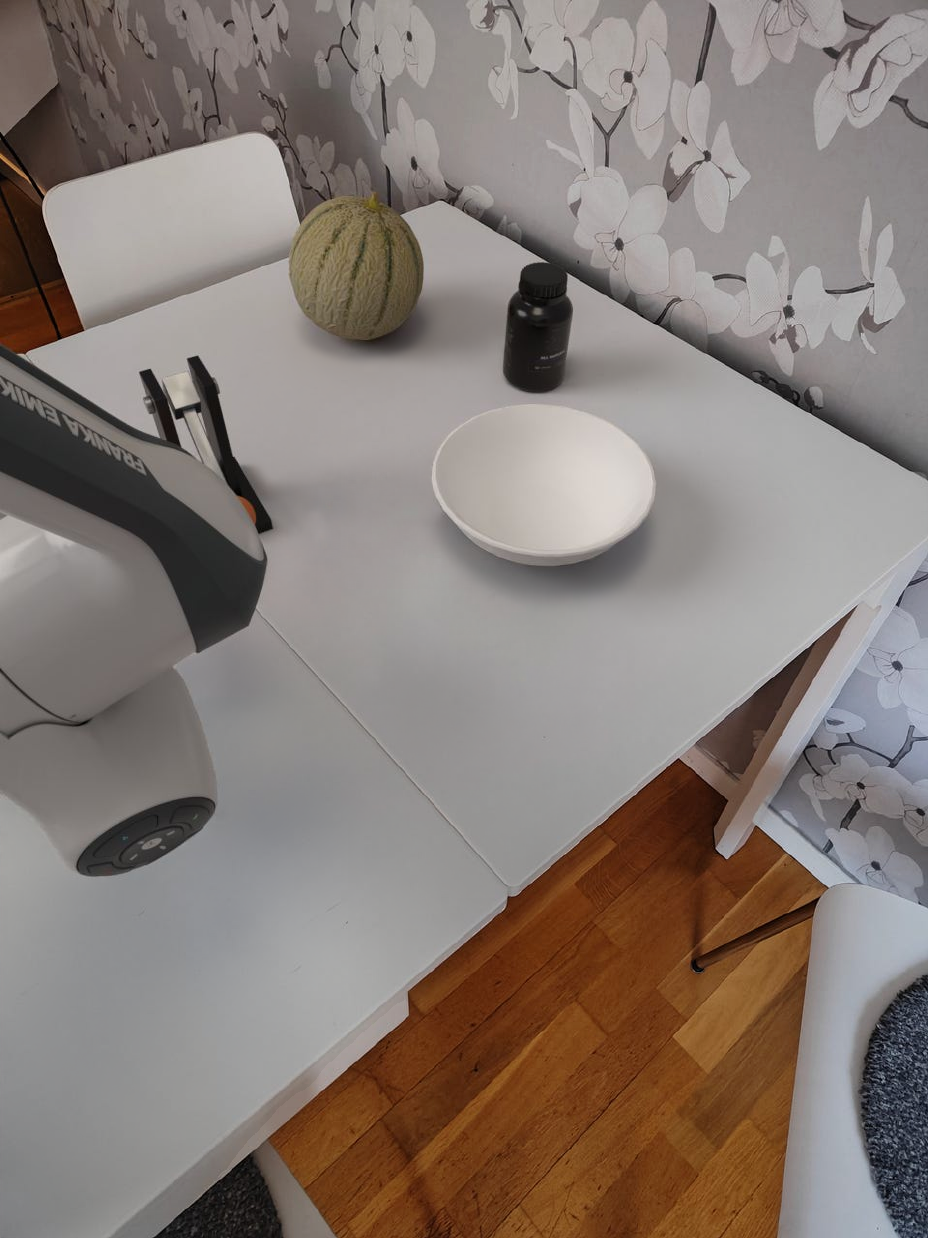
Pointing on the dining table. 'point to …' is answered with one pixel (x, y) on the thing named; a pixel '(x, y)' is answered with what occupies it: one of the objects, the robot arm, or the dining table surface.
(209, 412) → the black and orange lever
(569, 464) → the bowl
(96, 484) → the robot arm
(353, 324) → the cantaloupe
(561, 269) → the supplement bottle
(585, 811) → the dining table surface
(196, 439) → the switch
